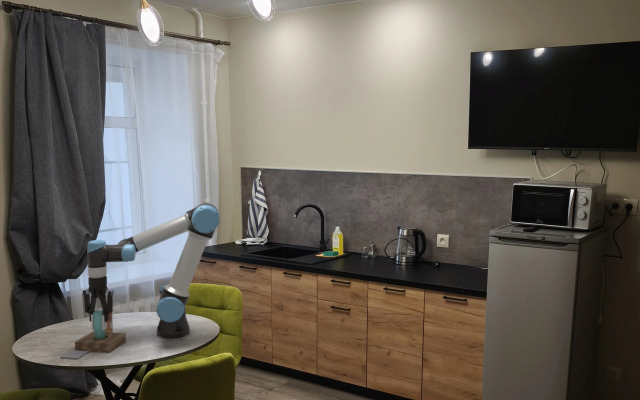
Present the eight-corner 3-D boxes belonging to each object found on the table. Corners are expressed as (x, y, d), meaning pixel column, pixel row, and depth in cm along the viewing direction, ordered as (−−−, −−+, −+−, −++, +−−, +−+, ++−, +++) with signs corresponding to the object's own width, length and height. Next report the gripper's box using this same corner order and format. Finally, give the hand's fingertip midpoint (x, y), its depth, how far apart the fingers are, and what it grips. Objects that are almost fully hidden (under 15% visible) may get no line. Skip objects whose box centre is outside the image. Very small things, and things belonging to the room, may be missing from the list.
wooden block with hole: (126, 341, 251) (125, 333, 251) (109, 352, 238) (109, 343, 237) (93, 340, 254) (92, 331, 253) (75, 350, 240) (74, 341, 240)
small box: (105, 338, 256) (104, 315, 255) (93, 338, 257) (92, 315, 256) (113, 332, 264) (112, 311, 263) (101, 332, 265) (101, 310, 264)
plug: (107, 338, 247) (106, 310, 245) (102, 342, 242) (100, 313, 241) (98, 338, 247) (96, 309, 246) (92, 341, 243) (91, 312, 242)
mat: (88, 352, 238) (88, 351, 238) (78, 359, 230) (77, 358, 230) (71, 351, 239) (71, 350, 239) (60, 358, 231) (60, 356, 231)
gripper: (120, 274, 244) (122, 327, 246) (83, 273, 247) (85, 325, 249) (111, 278, 237) (113, 332, 239) (74, 277, 240) (76, 330, 242)
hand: (99, 328), depth 244 cm, fingers closed on plug, 4 cm apart
